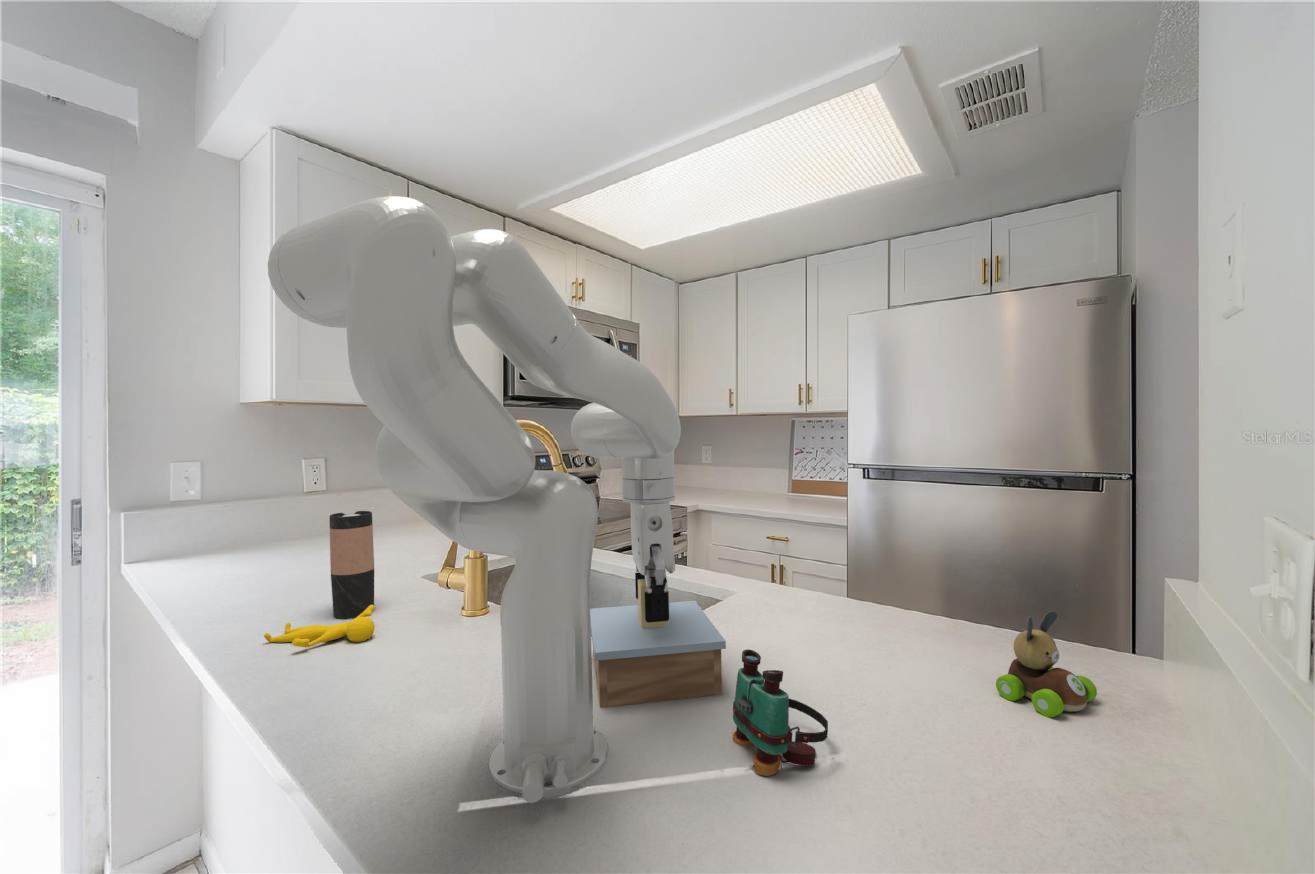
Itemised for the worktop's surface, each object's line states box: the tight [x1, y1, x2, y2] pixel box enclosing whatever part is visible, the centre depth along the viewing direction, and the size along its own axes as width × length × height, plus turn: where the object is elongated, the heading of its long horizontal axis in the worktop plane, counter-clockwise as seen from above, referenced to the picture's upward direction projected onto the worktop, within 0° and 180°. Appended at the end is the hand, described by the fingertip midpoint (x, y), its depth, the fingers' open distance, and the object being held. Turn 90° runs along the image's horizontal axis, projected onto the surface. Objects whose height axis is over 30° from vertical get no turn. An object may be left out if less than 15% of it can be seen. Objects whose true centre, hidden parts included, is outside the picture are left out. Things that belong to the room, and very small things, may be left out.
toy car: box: [995, 610, 1098, 718], centre depth 71 cm, size 9×9×11 cm
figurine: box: [263, 604, 376, 648], centre depth 97 cm, size 14×5×18 cm
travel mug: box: [329, 510, 375, 620], centre depth 110 cm, size 8×8×20 cm
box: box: [592, 648, 723, 708], centre depth 79 cm, size 16×16×7 cm
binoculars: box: [732, 649, 829, 776], centre depth 61 cm, size 9×11×10 cm
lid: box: [590, 579, 727, 661], centre depth 79 cm, size 17×17×7 cm
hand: (651, 609), depth 79 cm, fingers open, 9 cm apart
